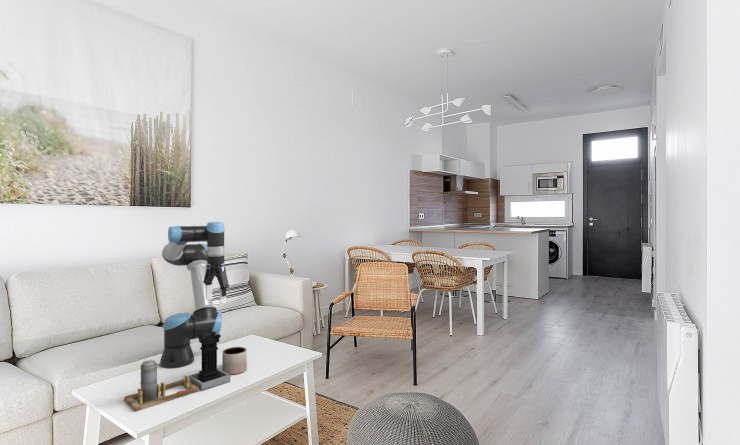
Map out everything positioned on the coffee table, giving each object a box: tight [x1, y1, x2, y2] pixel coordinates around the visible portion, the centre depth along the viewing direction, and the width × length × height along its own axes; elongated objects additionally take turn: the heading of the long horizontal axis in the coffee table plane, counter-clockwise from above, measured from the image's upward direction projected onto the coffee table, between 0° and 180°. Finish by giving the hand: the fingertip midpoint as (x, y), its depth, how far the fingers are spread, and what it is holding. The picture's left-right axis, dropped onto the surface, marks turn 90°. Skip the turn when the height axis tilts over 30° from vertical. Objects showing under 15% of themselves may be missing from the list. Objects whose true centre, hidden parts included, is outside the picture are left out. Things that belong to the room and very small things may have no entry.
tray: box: [188, 367, 231, 392], centre depth 176 cm, size 13×13×3 cm
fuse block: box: [123, 359, 200, 412], centre depth 162 cm, size 13×24×15 cm, turn 137°
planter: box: [221, 346, 248, 376], centre depth 189 cm, size 11×11×10 cm
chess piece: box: [197, 331, 222, 383], centre depth 176 cm, size 8×8×20 cm
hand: (215, 301), depth 188 cm, fingers open, 13 cm apart
